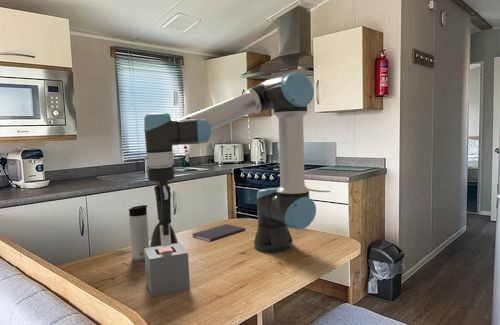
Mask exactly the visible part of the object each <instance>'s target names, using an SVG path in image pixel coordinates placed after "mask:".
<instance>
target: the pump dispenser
mask: <svg viewBox="0 0 500 325" xmlns="http://www.w3.org/2000/svg"><path fill="white" fill-rule="evenodd" d="M170 235H171V244H176V243H179V242H178V238H177V235H176V232H175V230H174V228H173V226H172V225H171V224H170ZM157 246H161V236H160V225H158V223H157V224H156V226H155V227H154V229H153V232H152V236H151V240H150V243H149V248H150V247H157Z"/></svg>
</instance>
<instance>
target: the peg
mask: <svg viewBox="0 0 500 325" xmlns="http://www.w3.org/2000/svg"><path fill="white" fill-rule="evenodd" d="M157 251H158V255H160V254H166V253H172V252H173V250H172V248H171V247H168V248H161V249H157Z"/></svg>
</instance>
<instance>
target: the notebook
mask: <svg viewBox="0 0 500 325" xmlns="http://www.w3.org/2000/svg"><path fill="white" fill-rule="evenodd" d="M245 231H246V228H245V227H241V226H237V225H232V224H227V223H226V224H221V225H218V226H215V227H211V228H208V229H205V230H201V231H198V232H193V233H192V234H191V235H192V237H193V238H197V239H200V240H202V241H208V242H213V241H217V240H219V239H223V238H225V237H229V236H232V235H235V234H238V233H242V232H245Z"/></svg>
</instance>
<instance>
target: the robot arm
mask: <svg viewBox="0 0 500 325" xmlns="http://www.w3.org/2000/svg"><path fill="white" fill-rule="evenodd" d="M314 92H315V91H314V85H313V83H312V82H311V79H310V78H308V77H307V75H306V74H303V73H301V72H288V73H285V74H282V75H278V76H273V77H271V78H268V79H266V80H264V81H261V83H259V84H257V85H254V86H253V87H252V86H251V88H248V89H246V90H245V93H242V94H240V95H237V96H234V97H232V98H229V99H227V100H225V101H222V102H220V103H217V104H214V105H212V106H210V107H207V108H205V109H202V110H200V111H197V112H194V113H191V114H188V115H186V116H184V117H181V118H179V119H172V118H171V115H170V113H168V112H166V113H163V112H162V113H161V112H160V113H158V112H157V113H147V114H146V115H145V116H144V121H143V122H144V124H143V125H144V126H143V127H144V130H143V131H144V138H145V151H146V156H144V160H146V165H147V180H148V181H149V182H155V186H154V188H153V190H154V193H155V202H156V209H157V210H156V211H157V220H158V223H157V224H158V225H160V236H161V246H168V245H171V235H170V225H171V223H172V211H171V210H172V209H171V208H172V207H171V206H172V205H171V204H172V203H171V198H172V192H171V186H169V185H168V181H171V180H174V179H175V169H174V166H173V165H174V162H175V161H174V149H173V146H179V145H181V146H183V145H185V146H186V145H197V144H198V145H200V144H206V143H209V141H210V139H211V136H212V130H214V129H217V128H219V127H222V126H224V125H227V124H229V123H232V122H234V121H236V120H238V119H241V118H244V117H247V116H248V115H250V114H255V115H256V114H257V115H258V114H260V113H262V112H266V111H272V110H273V114H274V115H275V116H276V118H277V119H278V144H279V150H278V151H279V177H280V178H279V179H280V180H279V181H280V182H279V184H280V185H279V187H270V188H262V189H258V191H256V192H257V193H256V208H257V212H256V213H257V229H256V233H255V236H254V241H253V244H254V245H253V247H254V249H255V250H258V251H261V252H266V253H279V252H285V251H288V250H290V249H292V248H293V247H294V244H293V242H294V240H293V237H292V234H291V233H290V229H292V230H293V229H294V230H303V229H306V228H307V227H309V226H310V225H311V223H312V222H314V219H315V217H316V213H317V206H316V203H315V201H313V199H312V198H310V189H309V188H308V187H307V185H306V184H305V183H306V181H305V149H304V148H305V146H304V145H305V140H304V137H305V136H304V117H305V115H307V113H308V105H310V103H311V102H312V101H313V99H314Z"/></svg>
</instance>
